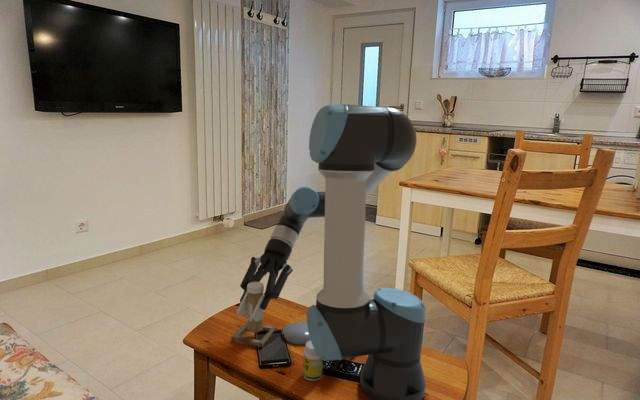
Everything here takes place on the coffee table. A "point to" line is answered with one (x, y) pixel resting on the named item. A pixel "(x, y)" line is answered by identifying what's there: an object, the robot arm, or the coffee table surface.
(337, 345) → the robot arm
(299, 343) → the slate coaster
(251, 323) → the sprinkles bottle
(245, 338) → the gray square frame
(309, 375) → the supplement bottle
